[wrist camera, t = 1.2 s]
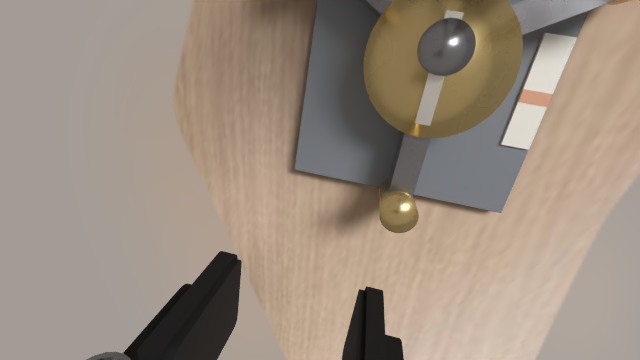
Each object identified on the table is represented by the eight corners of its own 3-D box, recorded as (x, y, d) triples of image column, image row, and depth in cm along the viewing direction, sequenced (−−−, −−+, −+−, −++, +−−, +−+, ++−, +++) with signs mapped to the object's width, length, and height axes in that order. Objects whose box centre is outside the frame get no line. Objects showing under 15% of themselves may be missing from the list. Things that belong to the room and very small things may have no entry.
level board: (342, -154, 18) (339, -169, 16) (636, -124, 16) (656, -139, 15) (297, 165, 25) (293, 170, 24) (496, 207, 23) (502, 214, 22)
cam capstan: (297, -87, 18) (277, -129, 14) (654, -43, 16) (741, -77, 12) (269, 179, 24) (250, 200, 21) (522, 234, 22) (552, 267, 19)
